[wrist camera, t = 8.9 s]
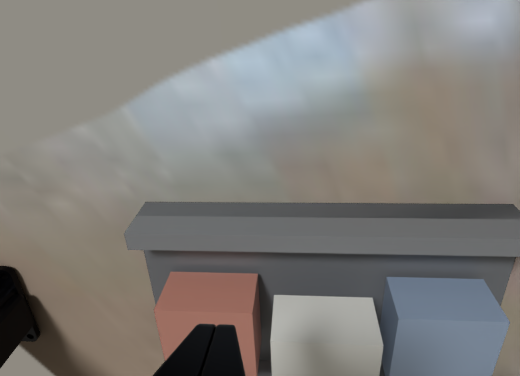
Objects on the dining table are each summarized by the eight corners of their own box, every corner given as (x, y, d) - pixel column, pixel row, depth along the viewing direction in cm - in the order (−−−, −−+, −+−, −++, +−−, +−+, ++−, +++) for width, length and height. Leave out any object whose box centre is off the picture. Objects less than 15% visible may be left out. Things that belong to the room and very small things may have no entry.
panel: (175, 347, 28) (161, 388, 26) (145, 202, 23) (123, 233, 20) (467, 360, 26) (487, 405, 24) (513, 204, 21) (546, 239, 18)
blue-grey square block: (377, 342, 24) (387, 387, 21) (386, 276, 21) (398, 318, 19) (464, 345, 23) (486, 392, 21) (483, 279, 21) (509, 322, 18)
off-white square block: (276, 360, 23) (273, 410, 20) (274, 294, 21) (270, 341, 18) (364, 364, 22) (373, 415, 20) (372, 297, 20) (383, 345, 17)
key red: (182, 334, 25) (168, 376, 22) (170, 271, 23) (153, 310, 20) (261, 337, 24) (257, 380, 22) (257, 273, 22) (252, 313, 20)
